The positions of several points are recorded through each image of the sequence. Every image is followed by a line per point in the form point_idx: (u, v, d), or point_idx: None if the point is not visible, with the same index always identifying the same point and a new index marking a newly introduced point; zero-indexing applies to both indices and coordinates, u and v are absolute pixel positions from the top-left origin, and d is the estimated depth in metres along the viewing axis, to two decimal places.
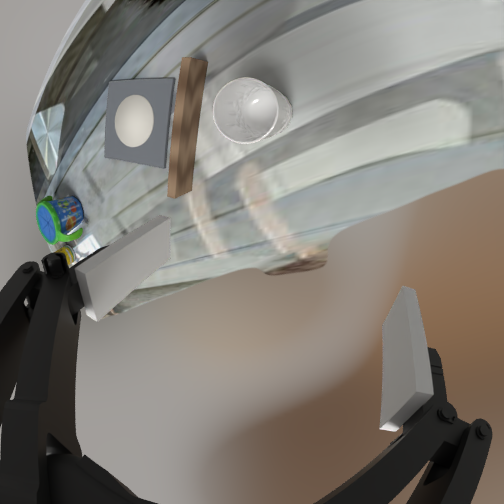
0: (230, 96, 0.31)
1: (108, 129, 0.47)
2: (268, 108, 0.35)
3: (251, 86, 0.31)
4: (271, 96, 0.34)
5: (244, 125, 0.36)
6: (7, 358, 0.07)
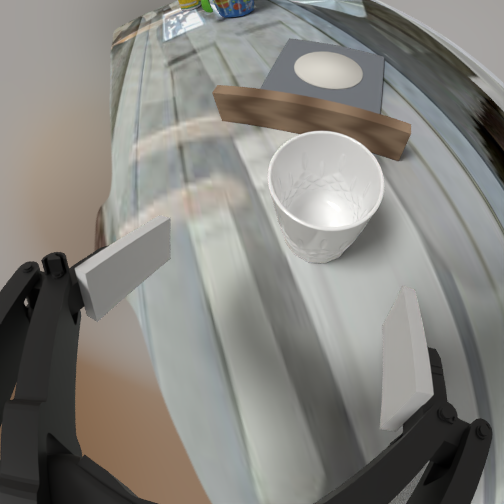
0: (350, 166, 0.21)
1: (322, 46, 0.35)
2: (324, 227, 0.25)
3: (363, 201, 0.21)
4: None
5: (301, 187, 0.25)
6: (7, 358, 0.07)
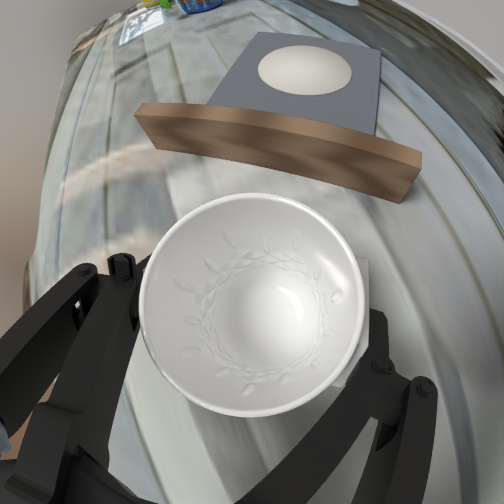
0: (310, 250, 0.12)
1: (299, 39, 0.27)
2: (274, 325, 0.17)
3: (331, 308, 0.13)
4: (302, 337, 0.16)
5: (237, 267, 0.16)
6: (43, 362, 0.07)
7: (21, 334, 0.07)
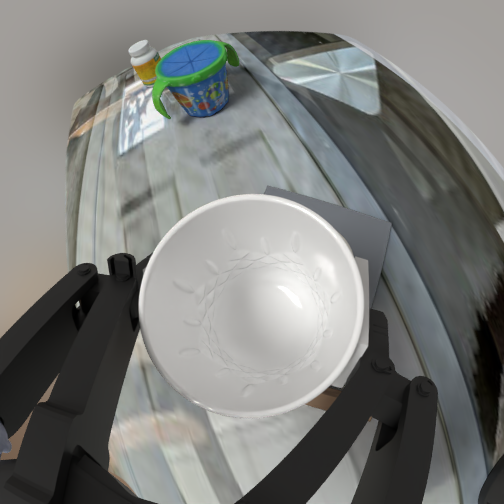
0: (310, 251, 0.12)
1: (310, 206, 0.33)
2: (274, 326, 0.17)
3: (331, 309, 0.13)
4: (301, 337, 0.16)
5: (237, 268, 0.16)
6: (43, 362, 0.07)
7: (21, 334, 0.07)
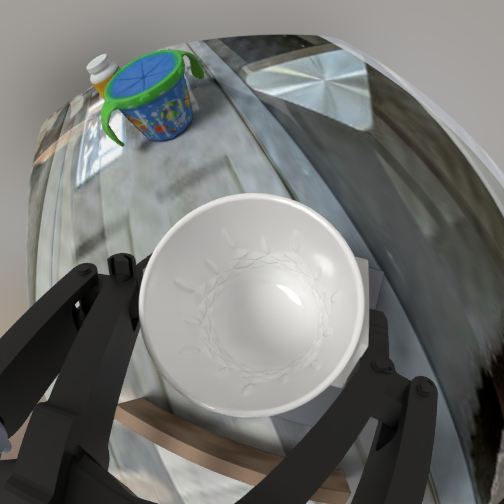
0: (310, 250, 0.12)
1: None
2: (274, 325, 0.17)
3: (331, 308, 0.13)
4: (301, 337, 0.16)
5: (237, 268, 0.16)
6: (43, 362, 0.07)
7: (21, 334, 0.07)
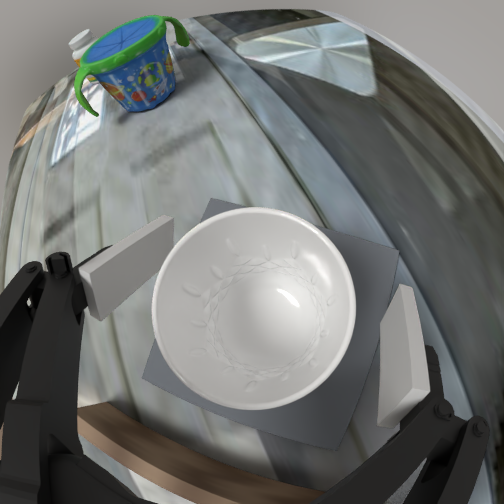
0: (308, 258, 0.13)
1: None
2: (275, 326, 0.18)
3: (327, 311, 0.14)
4: (300, 337, 0.17)
5: (240, 273, 0.17)
6: (9, 358, 0.07)
7: None
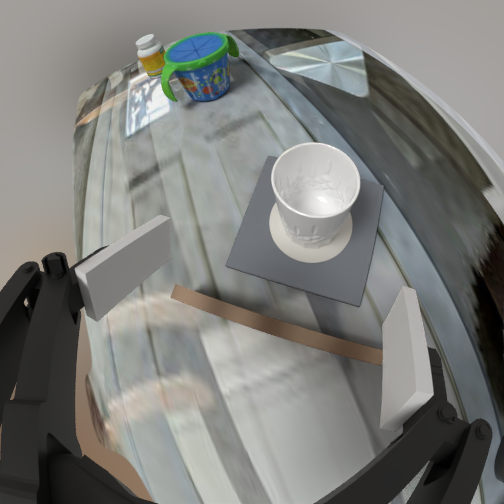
0: (335, 170, 0.27)
1: None
2: None
3: (346, 197, 0.27)
4: None
5: (297, 187, 0.31)
6: (7, 358, 0.07)
7: None
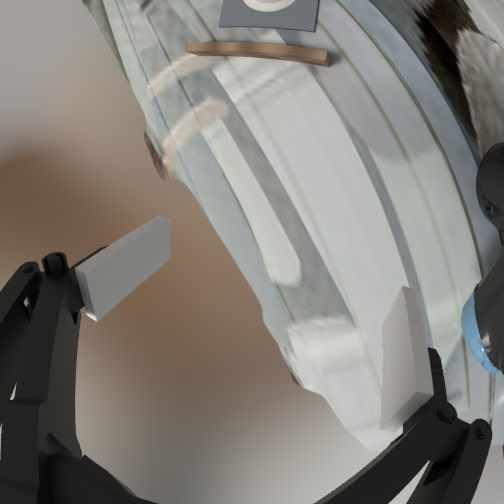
0: None
1: None
2: None
3: None
4: None
5: None
6: (7, 358, 0.07)
7: None
